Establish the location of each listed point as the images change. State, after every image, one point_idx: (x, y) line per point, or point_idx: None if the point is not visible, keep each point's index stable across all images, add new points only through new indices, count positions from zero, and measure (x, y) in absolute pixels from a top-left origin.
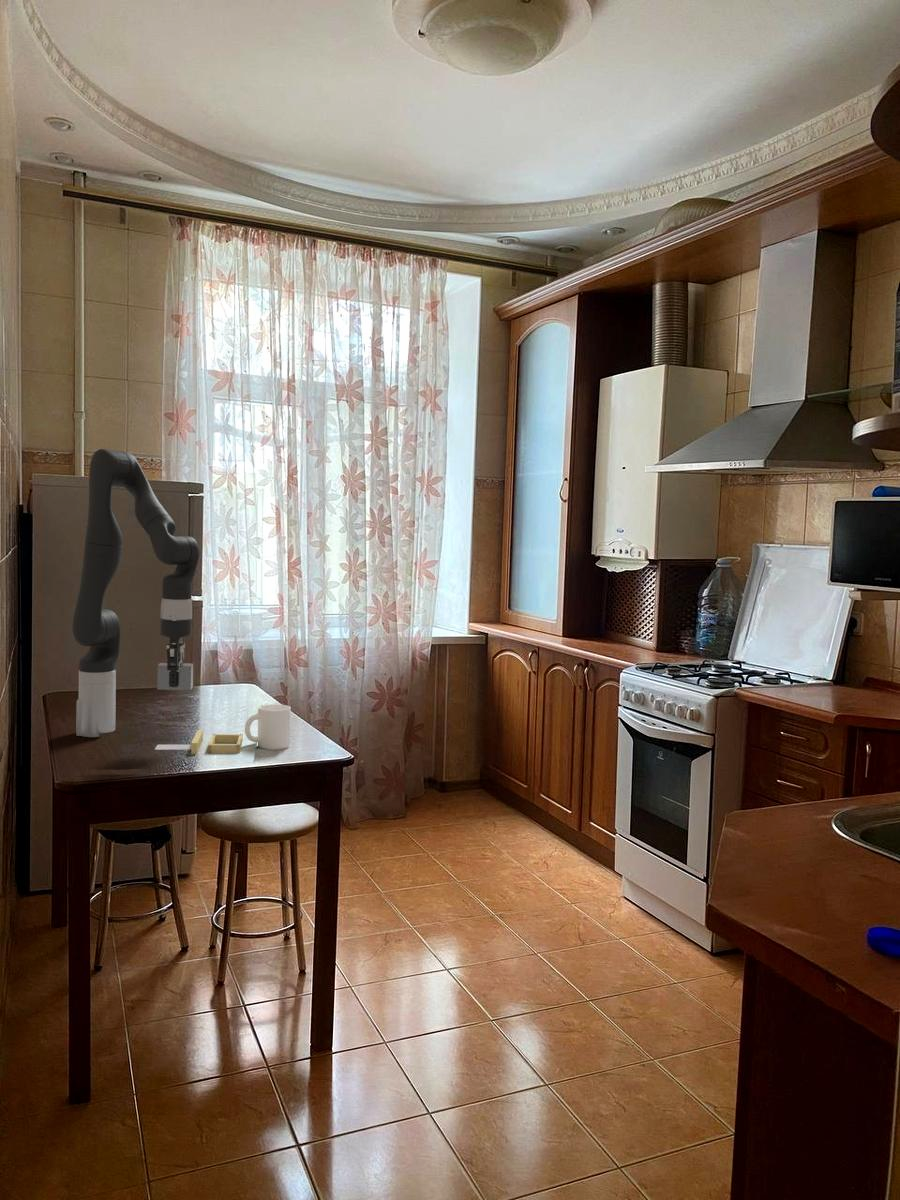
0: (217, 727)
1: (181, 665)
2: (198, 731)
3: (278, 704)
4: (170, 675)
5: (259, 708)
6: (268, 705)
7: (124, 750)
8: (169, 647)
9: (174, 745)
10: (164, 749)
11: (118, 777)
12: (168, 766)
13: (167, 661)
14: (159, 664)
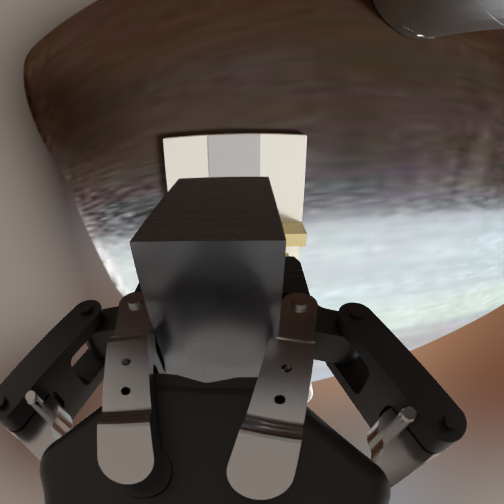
0: (433, 244)
1: (184, 373)
2: (290, 237)
3: (308, 400)
4: (136, 288)
5: None
6: (309, 389)
7: (245, 59)
8: (53, 444)
9: (250, 176)
10: (208, 159)
11: (42, 123)
12: (110, 188)
13: (38, 344)
14: (184, 247)
